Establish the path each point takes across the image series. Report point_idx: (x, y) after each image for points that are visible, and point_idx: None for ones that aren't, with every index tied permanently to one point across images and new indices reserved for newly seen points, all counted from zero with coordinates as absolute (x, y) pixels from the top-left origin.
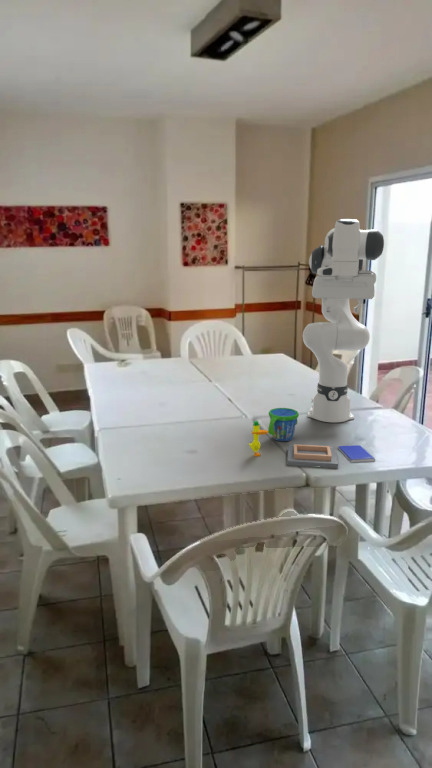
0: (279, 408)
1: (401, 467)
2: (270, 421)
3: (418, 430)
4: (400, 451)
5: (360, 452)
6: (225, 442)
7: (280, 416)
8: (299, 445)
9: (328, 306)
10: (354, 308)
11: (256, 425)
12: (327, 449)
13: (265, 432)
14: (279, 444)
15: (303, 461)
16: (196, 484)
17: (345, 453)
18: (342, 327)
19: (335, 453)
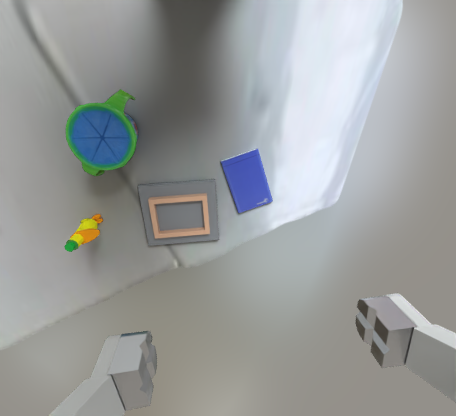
0: (83, 109)
1: (304, 214)
2: (85, 171)
3: (388, 16)
4: (318, 151)
5: (254, 183)
6: (23, 175)
7: (101, 169)
8: (157, 203)
9: (126, 377)
10: (376, 357)
11: (74, 249)
12: (203, 209)
13: (95, 237)
14: None
15: (171, 242)
16: (55, 316)
17: (231, 191)
18: None
19: (215, 203)
